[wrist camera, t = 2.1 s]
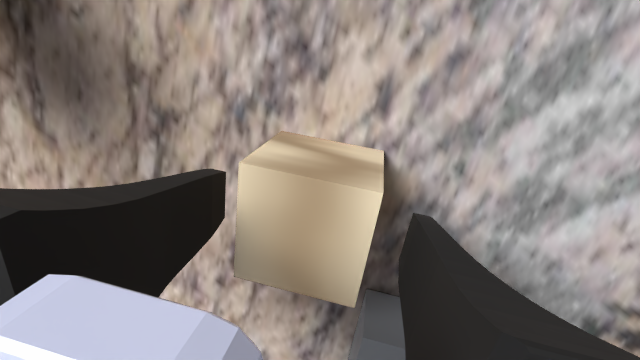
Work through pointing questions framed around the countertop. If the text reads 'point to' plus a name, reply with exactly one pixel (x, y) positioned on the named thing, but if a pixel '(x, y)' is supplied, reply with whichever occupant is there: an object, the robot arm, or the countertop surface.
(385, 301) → the base block
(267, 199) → the maple cube
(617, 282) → the countertop surface
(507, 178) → the countertop surface
